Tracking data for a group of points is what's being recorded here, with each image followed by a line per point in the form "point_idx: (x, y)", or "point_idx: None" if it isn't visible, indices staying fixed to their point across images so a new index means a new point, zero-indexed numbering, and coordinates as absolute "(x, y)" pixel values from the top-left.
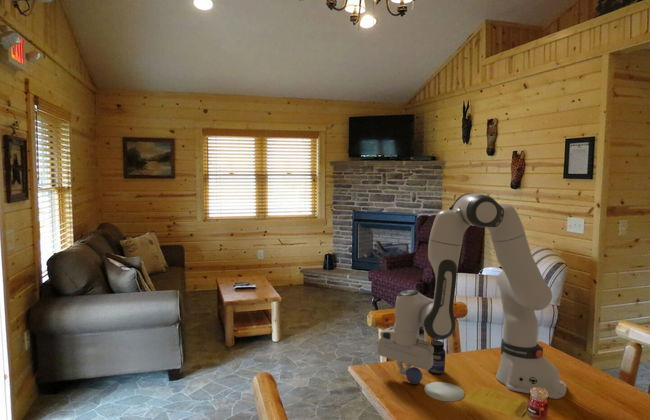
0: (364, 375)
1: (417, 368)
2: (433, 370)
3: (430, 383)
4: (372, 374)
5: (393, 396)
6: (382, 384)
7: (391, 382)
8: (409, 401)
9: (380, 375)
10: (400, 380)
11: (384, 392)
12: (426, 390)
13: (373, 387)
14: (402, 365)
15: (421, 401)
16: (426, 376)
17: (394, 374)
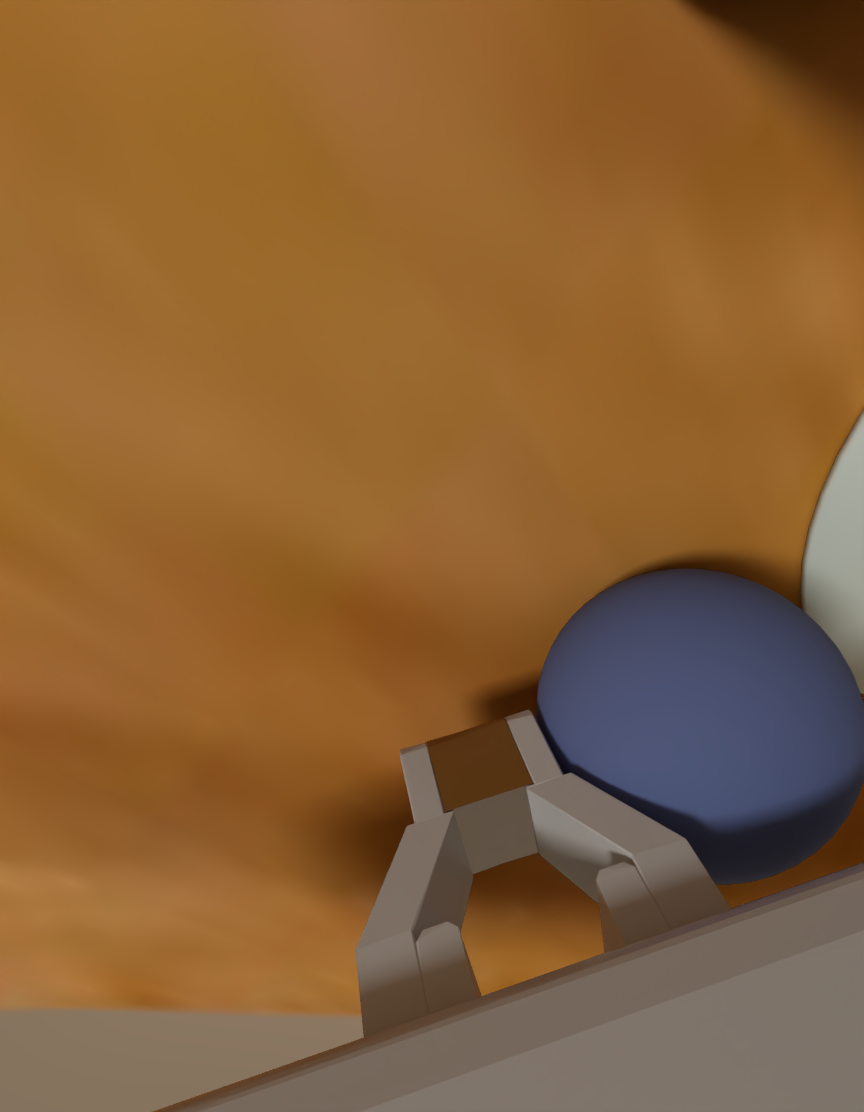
0: (9, 977)
1: (834, 790)
2: None
3: (853, 461)
4: (31, 902)
5: (596, 937)
6: (353, 919)
7: (388, 831)
8: (755, 882)
9: (124, 841)
10: (431, 721)
11: (488, 963)
12: (851, 654)
13: (341, 997)
14: (440, 862)
15: (852, 812)
16: (688, 247)
17: (218, 674)
